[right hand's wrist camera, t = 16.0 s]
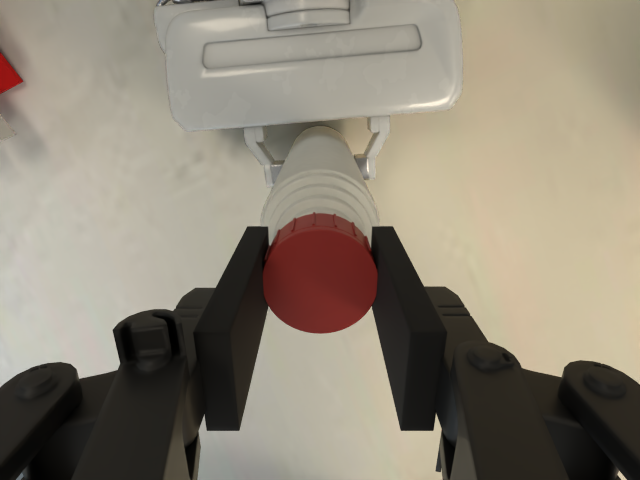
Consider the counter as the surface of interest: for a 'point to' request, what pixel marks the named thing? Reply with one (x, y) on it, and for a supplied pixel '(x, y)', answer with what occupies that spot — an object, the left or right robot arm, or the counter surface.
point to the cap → (320, 274)
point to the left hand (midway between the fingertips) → (321, 182)
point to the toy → (3, 79)
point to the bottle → (320, 184)
